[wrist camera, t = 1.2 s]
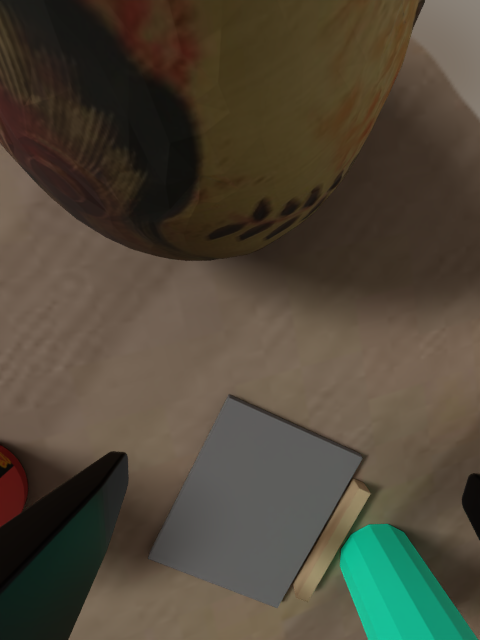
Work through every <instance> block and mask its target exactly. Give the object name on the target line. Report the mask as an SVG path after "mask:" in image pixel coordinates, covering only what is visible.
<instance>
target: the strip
mask: <svg viewBox="0 0 480 640" xmlns="http://www.w3.org/2000/svg"><path fill="white" fill-rule="evenodd" d="M370 494H371V493H370V492H369V490H368V489H367V487H366V486H365V484H364V483H363V482H361V481H358V480H356V479H354V478H352V480H351V482H350V483H349V485H348V487H347V489H346V490H345V492H344V494H343V496H342V497H341V499H340V501H339V503H338V504H337V506H336V508H335V510H334V511H333V513H332V515H331V517H330V518H329V520H328V522H327V524H326V525H325V527H324V529H323V531H322V532H321V534H320V536H319V538H318V539H317V541H316V543H315V545H314V546H313V548H312V550H311V552H310V554H309V555H308V557H307V559H306V561H305V562H304V564H303V566H302V568H301V569H300V571H299V573H298V575H297V576H296V578H295V580H294V582H293V585H294V590H295V594H296V598H298V599H301V600H304V601H306V602H308V601H309V599H310V597H311V595H312V594H313V592H314V590H315V589H316V587H317V585H318V583H319V582H320V580H321V578H322V577H323V575H324V573H325V571H326V570H327V568H328V566H329V565H330V563H331V561H332V559H333V558H334V556H335V554H336V552H337V551H338V549H339V547H340V546H341V544H342V542H343V540H344V539H345V537H346V535H347V534H348V532H349V530H350V528H351V527H352V525H353V523H354V521H355V520H356V518H357V516H358V515H359V513H360V511H361V509H362V508H363V506H364V504H365V503H366V501H367V499H368V497H369V496H370Z"/></svg>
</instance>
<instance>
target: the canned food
mask: <svg viewBox="0 0 480 640" xmlns="http://www.w3.org/2000/svg"><path fill="white" fill-rule="evenodd" d="M27 494H28V482H27V477H26V474H25V471H24V469H23V467H22V465H21V463H20V462H19V461H18V459H17V458H16V457H15V456H14V455H13V454H12V453H11V452H10V451H8V450H7V449H6V448H4V447H3V446H1V445H0V527H1V526H2V525H4V524H5V523H7V522H8V521H10V520H11V519H12V518H14V517H15V516H17V515H18V514H20V513H21V512H22V510H23V508H24V505H25V502H26V499H27Z"/></svg>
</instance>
